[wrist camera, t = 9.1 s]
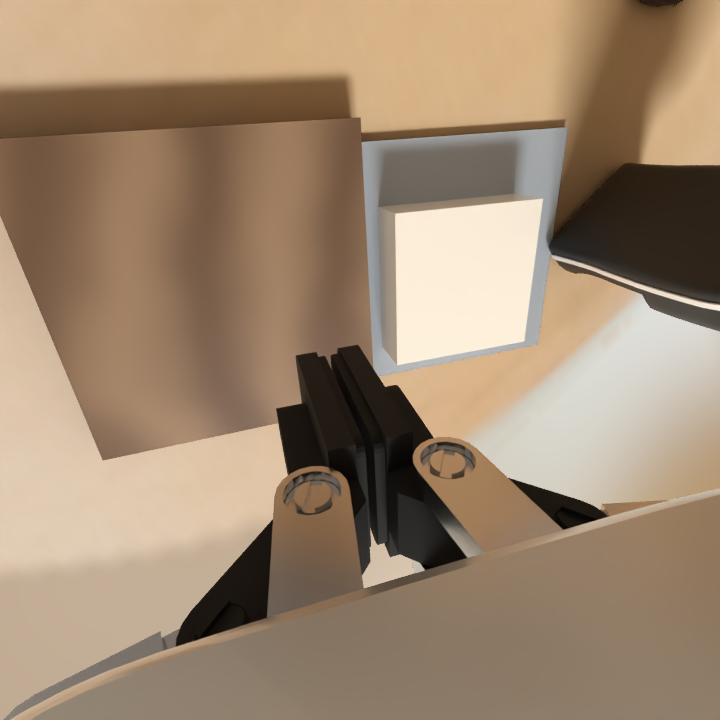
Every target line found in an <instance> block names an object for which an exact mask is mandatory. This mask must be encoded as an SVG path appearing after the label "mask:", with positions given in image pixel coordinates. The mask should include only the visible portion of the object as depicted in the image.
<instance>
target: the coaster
mask: <svg viewBox="0 0 720 720" xmlns="http://www.w3.org/2000/svg"><path fill="white" fill-rule="evenodd" d="M542 203H543V198H537V197H531V196H525V195H519V194H506V195H495V196H485V197H475V198H465V199H454V200H444V201H434V202H424V203H414V204H403V205H393V206H383V207H378V221H379V254H380V286H381V319H382V347H383V348H384V350H385V351H386V352H387V353H388V355H389V356H390V357H391V358H392V359H393V361H394V362H395V363H396V364H397V365H401V364H407V363H412V362H417V361H423V360H428V359H433V358H439V357H444V356H450V355H455V354H460V353H466V352H471V351H476V350H482V349H487V348H492V347H498V346H503V345H508V344H514V343H519V342H524V339H525V332H526V324H527V317H528V309H529V302H530V294H531V286H532V279H533V271H534V264H535V256H536V249H537V241H538V233H539V226H540V218H541V211H542Z"/></svg>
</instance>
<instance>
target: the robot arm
mask: <svg viewBox="0 0 720 720" xmlns="http://www.w3.org/2000/svg"><path fill="white" fill-rule="evenodd" d="M296 365H297V372H298V379H299V386H300V394H301V401H302V403H301V404H296V405H291V406H286V407H281V408H276V412H277V418H278V424H279V430H280V435H281V441H282V446H283V452H284V457H285V463H286V468H287V473H288V476H287V477H286V478H284V479H283V480H282V481H281V483H280V484H279V486H278V487H277V490H276V493H275V497H274V513H273V520H272V521H271V522H270V523H269V524H268V525H267V527H266V528H265V529H264V530H263V531H262V532H261V533H260V534H259V535H258V537H257V538H256V539H255V540H254V541H253V542H252V543H251V544H250V546H249V547H248V548H247V549H246V550H245V551H244V552H243V553H242V555H241V556H240V557H239V558H238V559H237V560H236V561H235V562H234V563H233V565H232V566H231V567H230V568H229V569H228V570H227V571H226V572H225V574H224V575H223V576H222V577H221V578H220V579H219V580H218V582H217V583H216V584H215V585H214V586H213V587H212V588H211V589H210V590H209V592H208V593H207V594H206V595H205V596H204V597H203V598H202V599H201V601H200V602H199V603H198V604H197V605H196V606H195V607H194V608H193V609H192V611H191V612H190V613H189V615H188V616H187V618H186V619H185V621H184V622H183V623H182V625H181V628H180V629H178V630H176V631H174V632H172V633H171V634H168V635H166V636H164V637H163V635H162V634H161V631H160V632H158V633H156V634H154V635H152V636H150V637H148V638H146V639H144V640H142V641H140V642H138V643H136V644H134V645H132V646H130V647H128V648H126V649H124V650H122V651H120V652H118V653H116V654H114V655H112V656H110V657H109V658H106V659H105V660H102V661H101V662H99V663H96V664H94V665H92V666H90V667H89V668H87V669H85V670H83V671H81V672H79V673H77V674H75V675H73V676H71V677H69V678H67V679H65V680H63V681H61V682H59V683H57V684H55V685H53V686H51V687H49V688H47V689H45V690H43V691H41V692H39V693H37V694H35V695H33V696H32V697H31V698H29V699H28V700H26V701H24V702H23V703H21V704H20V705H18V706H17V707H16V708H15V709H14V710H13V711H12V712H11V713H10V714H9V715H8V716H7V717H6V718H5V719H4V720H720V489H715V490H711V491H707V492H702V493H698V494H693V495H689V496H684V497H679V498H676V499H672V500H664V501H663V500H662V501H646V502H630V503H614V504H602V506H601V510H599V509H598V508H596V507H594V506H592V505H590V504H588V503H585V502H583V501H581V500H577V499H574V498H571V497H567V496H564V495H561V494H558V493H555V492H552V491H549V490H545V489H542V488H538V487H536V486H533V485H529V484H526V483H523V482H520V481H516V480H513V479H510V478H507V477H506V476H505V475H504V474H503V473H502V472H501V471H500V470H499V469H498V468H497V467H496V466H495V465H494V464H492V463H491V462H490V461H489V460H488V459H487V458H486V457H485V456H484V455H483V454H482V453H481V452H480V451H479V450H478V449H476V448H475V447H474V446H472V445H471V444H469V443H468V442H465V441H463V440H460V439H456V438H451V437H437V438H433V436H432V435H431V433H430V432H429V430H428V429H427V427H426V426H425V424H424V423H423V421H422V420H421V419H420V417H419V416H418V414H417V413H416V411H415V410H414V408H413V407H412V405H411V404H410V402H409V401H408V399H407V398H406V397H405V395H404V394H403V392H402V391H401V389H400V388H399V387H398V386H397V385H393V386H388V387H385V386H384V385H383V383H382V382H381V380H380V378H379V377H378V375H377V374H376V372H375V370H374V369H373V367H372V366H371V364H370V362H369V361H368V359H367V358H366V356H365V355H364V353H363V351H362V350H361V348H360V347H359V345H353V346H347V347H341V348H338V349H337V354H332V355H331V367H330V365H329V363H328V361H327V358H326V356H320V357H318V354H317V352H312V353H306V354H301V355H296ZM331 368H332V369H331ZM370 528H371V530H372V534H373V536H374V539H375V541H376V543H377V544H378V545H379V544H382V543H385V546H386V548H387V551H388V553H389V556H390V557H392V556H396V555H399V554H401V555H403V556H405V557H408V558H410V559H412V565H413V568H414V570H415V574H412V575H408V576H405V577H401V578H398V579H395V580H391V581H388V582H385V583H381V584H378V585H375V586H371V587H368V588H365V589H364V588H363V581H362V575H363V573H364V571H365V570H366V568H367V566H368V565H369V563H370V549H369V548H370V547H371V536H370Z"/></svg>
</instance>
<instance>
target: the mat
mask: <svg viewBox="0 0 720 720" xmlns="http://www.w3.org/2000/svg"><path fill="white" fill-rule="evenodd" d="M567 131H568V127H562V128H548V129H534V130H520V131H506V132H492V133H478V134H464V135H451V136H437V137H423V138H409V139H395V140H381V141H367V142H362V159H363V178H364V198H365V217H366V236H367V255H368V275H369V294H370V313H371V332H372V352H373V369H374V370H375V372H376V374H377V375H378V377H379V376H384V375H389V374H394V373H399V372H404V371H409V370H414V369H419V368H424V367H429V366H434V365H439V364H444V363H449V362H454V361H459V360H464V359H469V358H474V357H479V356H484V355H489V354H494V353H499V352H504V351H509V350H514V349H519V348H524V347H529V346H534V345H538V339H539V332H540V324H541V317H542V310H543V303H544V296H545V289H546V281H547V274H548V267H549V260H550V250H549V244H550V242H551V241H552V238H553V231H554V224H555V217H556V210H557V203H558V195H559V188H560V181H561V174H562V167H563V160H564V152H565V145H566V138H567ZM506 194H519V195H525V196H531V197H537V198H543V203H542V211H541V218H540V226H539V233H538V241H537V249H536V256H535V264H534V271H533V279H532V286H531V294H530V302H529V309H528V317H527V324H526V332H525V339H524V342H519V343H514V344H508V345H503V346H498V347H492V348H487V349H482V350H476V351H471V352H466V353H460V354H455V355H450V356H444V357H439V358H433V359H428V360H423V361H417V362H412V363H407V364H401V365H397V364H396V363H395V362H394V361H393V359H392V358H391V357H390V356H389V355H388V353H387V352H386V351H385V350H384V348H383V347H382V319H381V286H380V254H379V221H378V207H383V206H393V205H403V204H414V203H424V202H434V201H444V200H454V199H465V198H475V197H485V196H495V195H506Z"/></svg>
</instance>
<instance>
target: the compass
mask: <svg viewBox="0 0 720 720" xmlns="http://www.w3.org/2000/svg"><path fill="white" fill-rule="evenodd" d="M641 1H642V2H643V3H644V4H647V5H652V6H656V7H660V6H665V5H669V4H673V3H674V4H673V5H672V6H677V5H679V4H681V3H682V2H680V1H683V0H641Z"/></svg>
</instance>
